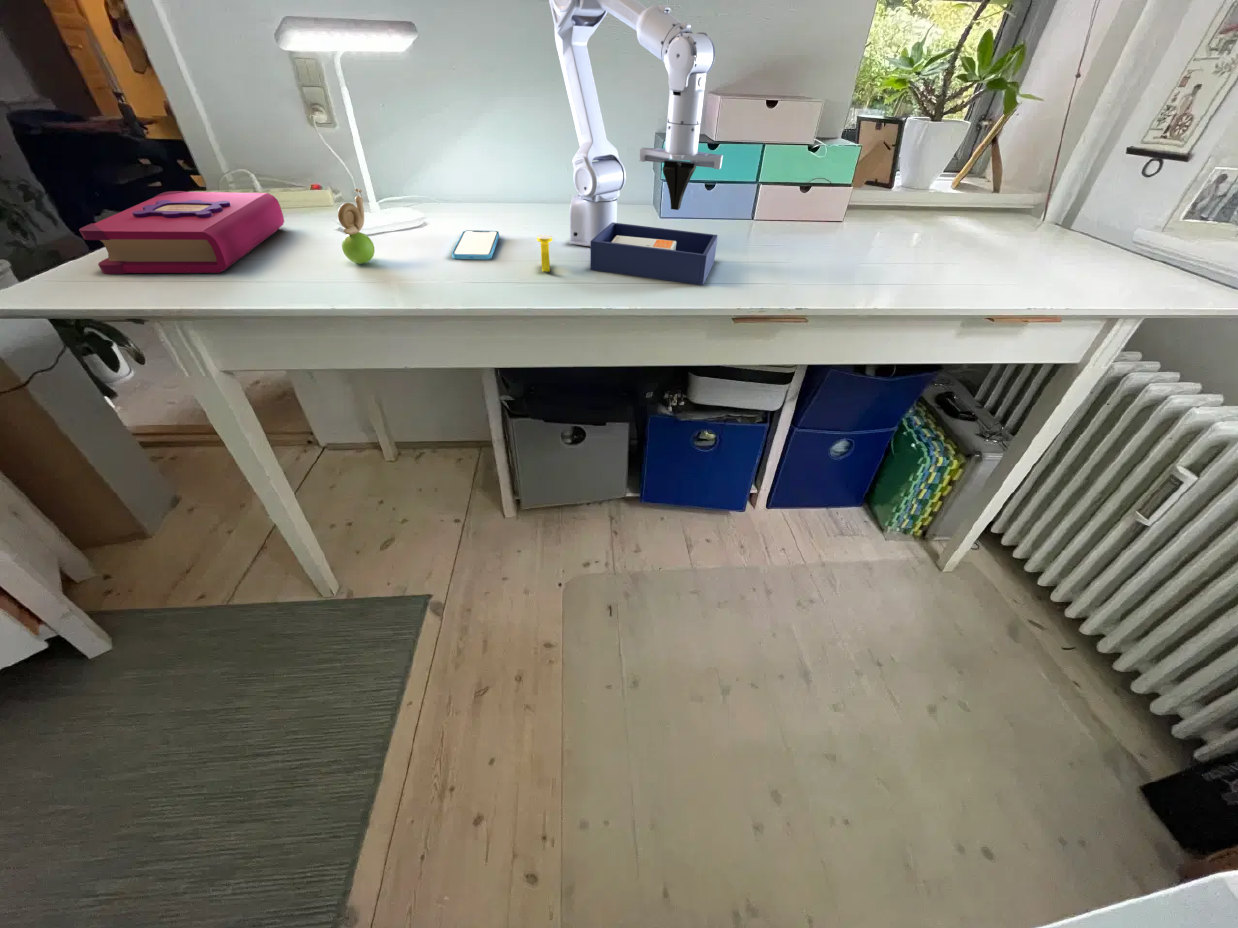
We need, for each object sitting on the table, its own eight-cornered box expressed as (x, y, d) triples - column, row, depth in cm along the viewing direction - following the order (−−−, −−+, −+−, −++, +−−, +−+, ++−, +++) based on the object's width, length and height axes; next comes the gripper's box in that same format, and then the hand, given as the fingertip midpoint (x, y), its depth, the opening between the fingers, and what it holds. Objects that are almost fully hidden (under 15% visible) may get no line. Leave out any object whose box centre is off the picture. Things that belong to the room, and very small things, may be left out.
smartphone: (450, 254, 105) (463, 230, 117) (451, 260, 106) (464, 235, 118) (490, 255, 106) (499, 231, 117) (491, 261, 107) (499, 236, 118)
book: (287, 228, 118) (275, 189, 113) (229, 273, 96) (211, 228, 91) (182, 227, 115) (164, 187, 111) (98, 274, 94) (72, 227, 89)
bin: (590, 269, 104) (590, 241, 101) (611, 249, 114) (611, 222, 111) (702, 285, 100) (706, 255, 96) (714, 262, 110) (717, 235, 107)
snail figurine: (387, 259, 105) (371, 190, 97) (364, 269, 100) (346, 198, 92) (363, 255, 106) (346, 187, 99) (339, 265, 101) (320, 194, 94)
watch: (553, 275, 101) (552, 242, 97) (538, 275, 101) (536, 241, 97) (553, 264, 106) (552, 232, 102) (538, 264, 105) (537, 232, 102)
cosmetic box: (672, 249, 101) (609, 243, 103) (670, 272, 104) (609, 266, 105) (676, 239, 106) (616, 234, 107) (674, 262, 108) (615, 256, 110)
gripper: (636, 121, 92) (632, 209, 100) (722, 129, 89) (710, 218, 97) (647, 117, 97) (642, 200, 105) (728, 124, 94) (716, 209, 102)
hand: (675, 208), depth 102 cm, fingers closed
